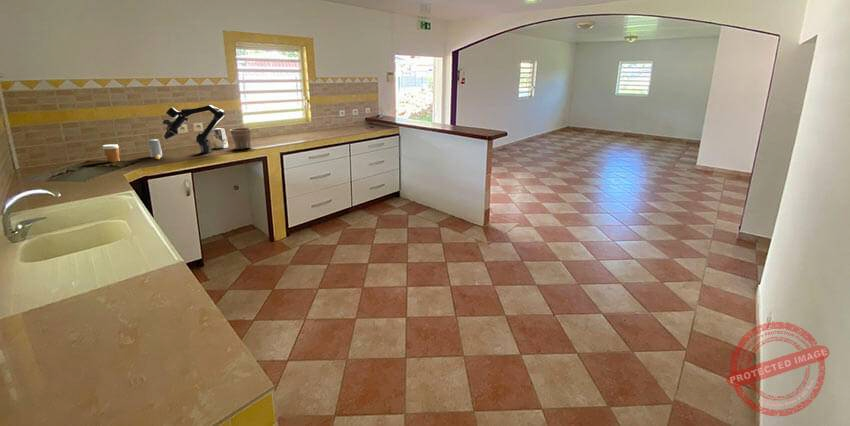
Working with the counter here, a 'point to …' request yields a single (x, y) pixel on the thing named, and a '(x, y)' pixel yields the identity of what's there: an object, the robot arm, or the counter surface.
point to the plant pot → (241, 137)
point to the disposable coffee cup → (112, 152)
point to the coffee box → (220, 138)
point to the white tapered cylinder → (155, 147)
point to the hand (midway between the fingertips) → (164, 138)
